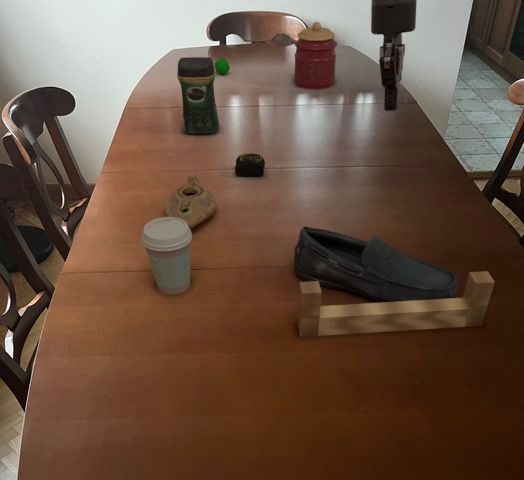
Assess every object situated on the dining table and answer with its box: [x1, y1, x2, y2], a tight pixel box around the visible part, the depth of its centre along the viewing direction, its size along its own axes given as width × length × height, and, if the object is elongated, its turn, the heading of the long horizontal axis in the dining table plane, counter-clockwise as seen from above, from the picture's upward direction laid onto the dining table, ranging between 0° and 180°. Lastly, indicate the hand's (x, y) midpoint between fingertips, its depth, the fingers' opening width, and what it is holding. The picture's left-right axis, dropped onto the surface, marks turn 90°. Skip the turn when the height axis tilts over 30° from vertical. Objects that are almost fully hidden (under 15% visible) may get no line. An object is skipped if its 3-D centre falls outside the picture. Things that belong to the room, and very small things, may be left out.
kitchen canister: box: [293, 21, 338, 90], centre depth 183 cm, size 13×13×18 cm
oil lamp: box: [163, 173, 217, 230], centre depth 122 cm, size 11×15×8 cm
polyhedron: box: [213, 57, 230, 76], centre depth 195 cm, size 5×5×5 cm
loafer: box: [293, 226, 459, 303], centre depth 102 cm, size 10×29×10 cm, turn 71°
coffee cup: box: [141, 216, 193, 296], centre depth 103 cm, size 8×8×12 cm
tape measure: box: [234, 152, 266, 177], centre depth 140 cm, size 7×7×4 cm
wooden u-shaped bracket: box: [297, 270, 495, 338], centre depth 95 cm, size 30×3×9 cm, turn 94°
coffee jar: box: [177, 56, 220, 136], centre depth 155 cm, size 10×8×19 cm
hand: (390, 110), depth 109 cm, fingers closed
